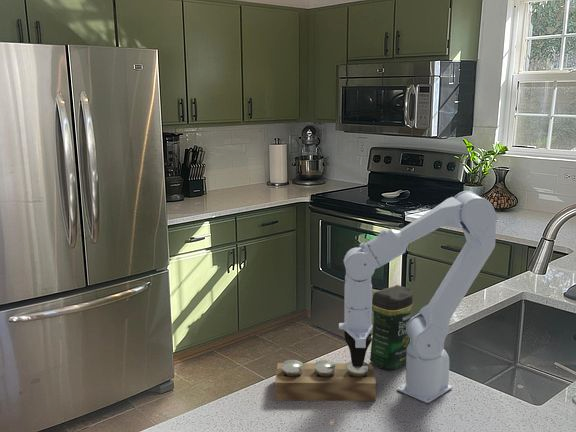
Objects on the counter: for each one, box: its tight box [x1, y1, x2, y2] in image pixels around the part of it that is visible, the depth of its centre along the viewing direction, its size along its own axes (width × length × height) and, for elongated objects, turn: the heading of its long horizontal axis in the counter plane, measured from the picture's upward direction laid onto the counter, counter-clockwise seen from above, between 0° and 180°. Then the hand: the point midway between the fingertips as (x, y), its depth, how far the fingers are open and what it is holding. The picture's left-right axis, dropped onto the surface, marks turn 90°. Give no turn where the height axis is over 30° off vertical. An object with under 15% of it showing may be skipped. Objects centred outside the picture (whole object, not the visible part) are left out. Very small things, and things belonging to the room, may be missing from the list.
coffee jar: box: [369, 284, 414, 371], centre depth 132 cm, size 10×8×19 cm
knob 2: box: [346, 360, 369, 377], centre depth 121 cm, size 4×4×6 cm
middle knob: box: [314, 359, 335, 377], centre depth 121 cm, size 4×4×6 cm
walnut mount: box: [274, 362, 377, 402], centre depth 121 cm, size 21×9×4 cm, turn 87°
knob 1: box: [282, 359, 303, 377], centre depth 122 cm, size 4×4×6 cm
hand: (357, 365), depth 120 cm, fingers closed, pressing on knob 2
